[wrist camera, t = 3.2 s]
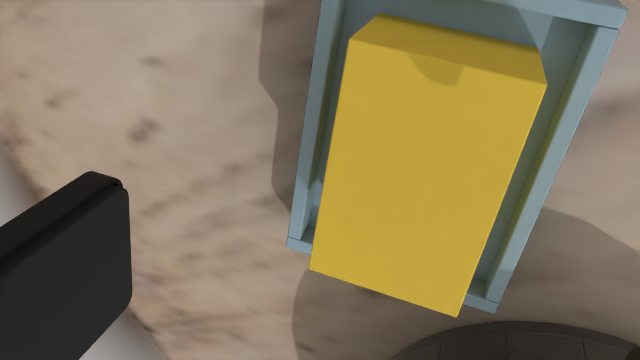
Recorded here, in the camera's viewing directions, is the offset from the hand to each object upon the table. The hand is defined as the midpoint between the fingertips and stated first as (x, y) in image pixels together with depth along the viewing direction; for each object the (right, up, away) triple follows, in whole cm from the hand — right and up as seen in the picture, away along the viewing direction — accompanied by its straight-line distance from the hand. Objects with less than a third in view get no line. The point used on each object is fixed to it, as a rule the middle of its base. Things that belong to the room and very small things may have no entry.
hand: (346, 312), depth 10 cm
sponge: (+3, +4, +7) cm, 8 cm away
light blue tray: (+3, +4, +7) cm, 9 cm away
